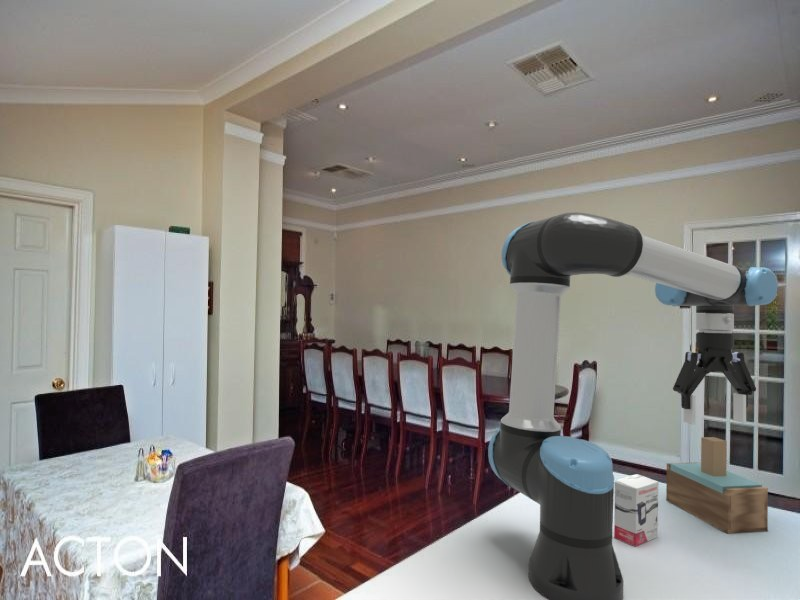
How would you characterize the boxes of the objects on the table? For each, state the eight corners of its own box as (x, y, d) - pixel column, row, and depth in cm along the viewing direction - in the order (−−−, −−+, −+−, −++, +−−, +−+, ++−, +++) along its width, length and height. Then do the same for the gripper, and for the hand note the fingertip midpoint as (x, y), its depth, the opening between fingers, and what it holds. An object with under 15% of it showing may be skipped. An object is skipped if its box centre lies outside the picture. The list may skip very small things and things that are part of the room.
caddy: (727, 533, 101) (727, 490, 101) (666, 500, 119) (666, 463, 119) (767, 531, 103) (767, 488, 103) (701, 498, 121) (701, 462, 121)
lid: (722, 493, 103) (723, 449, 103) (670, 469, 118) (670, 431, 118) (762, 491, 104) (762, 448, 105) (705, 468, 120) (705, 430, 120)
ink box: (636, 547, 94) (636, 487, 94) (612, 537, 98) (613, 480, 99) (659, 537, 99) (659, 480, 99) (635, 528, 103) (636, 473, 103)
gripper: (680, 332, 106) (679, 427, 106) (774, 332, 111) (775, 424, 110) (656, 330, 114) (656, 420, 113) (745, 331, 118) (746, 417, 117)
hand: (714, 422), depth 112 cm, fingers open, 13 cm apart
